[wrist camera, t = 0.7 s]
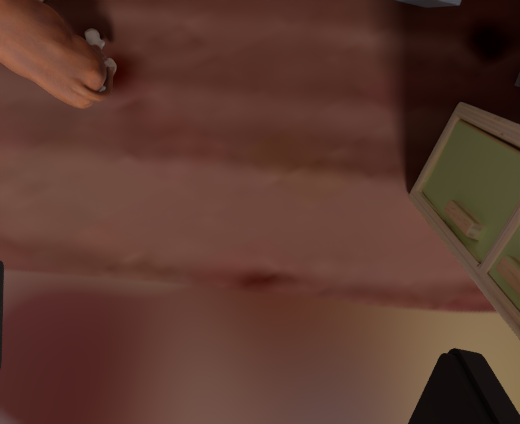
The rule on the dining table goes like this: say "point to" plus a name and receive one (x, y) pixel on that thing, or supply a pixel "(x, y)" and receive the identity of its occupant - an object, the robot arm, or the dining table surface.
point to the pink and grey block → (518, 81)
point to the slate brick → (432, 3)
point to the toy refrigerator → (478, 202)
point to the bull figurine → (54, 53)
